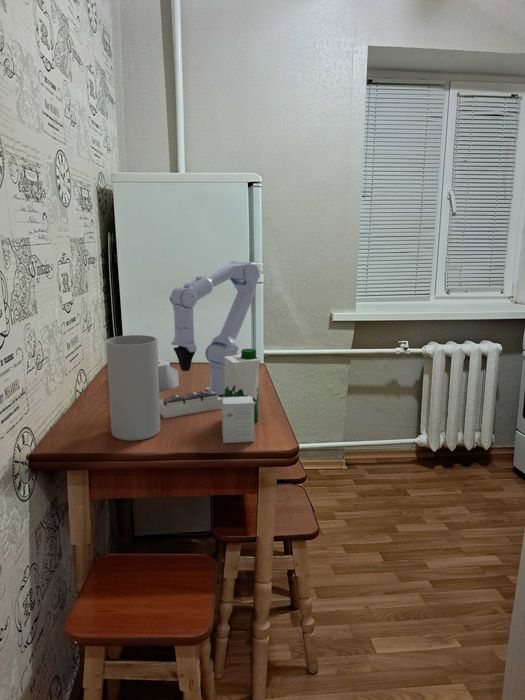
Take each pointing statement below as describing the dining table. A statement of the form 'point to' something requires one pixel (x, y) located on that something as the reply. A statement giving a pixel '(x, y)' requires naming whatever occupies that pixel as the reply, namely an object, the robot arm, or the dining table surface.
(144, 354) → the cylinder vase
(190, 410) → the switch panel
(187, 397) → the rocker
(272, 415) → the dining table surface
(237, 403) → the small box
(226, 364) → the milk carton
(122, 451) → the dining table surface
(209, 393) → the rocker
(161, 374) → the toilet tissue
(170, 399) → the rocker
